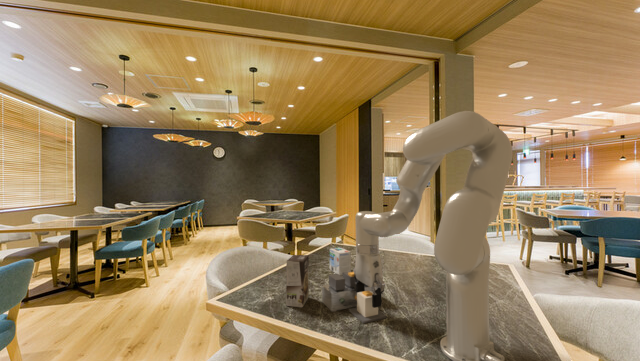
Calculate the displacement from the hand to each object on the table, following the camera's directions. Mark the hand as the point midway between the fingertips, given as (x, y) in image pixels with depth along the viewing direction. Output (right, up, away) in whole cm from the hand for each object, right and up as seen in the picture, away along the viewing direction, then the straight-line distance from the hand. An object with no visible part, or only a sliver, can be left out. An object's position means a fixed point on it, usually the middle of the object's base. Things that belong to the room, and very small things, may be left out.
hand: (368, 300), depth 88 cm
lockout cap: (0, -4, 0) cm, 4 cm away
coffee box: (-24, -5, +10) cm, 27 cm away
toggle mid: (-5, +1, +10) cm, 12 cm away
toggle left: (-10, +2, +8) cm, 13 cm away
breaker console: (-4, -5, +10) cm, 12 cm away
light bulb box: (-6, -6, +44) cm, 45 cm away
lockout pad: (0, -5, 0) cm, 5 cm away
